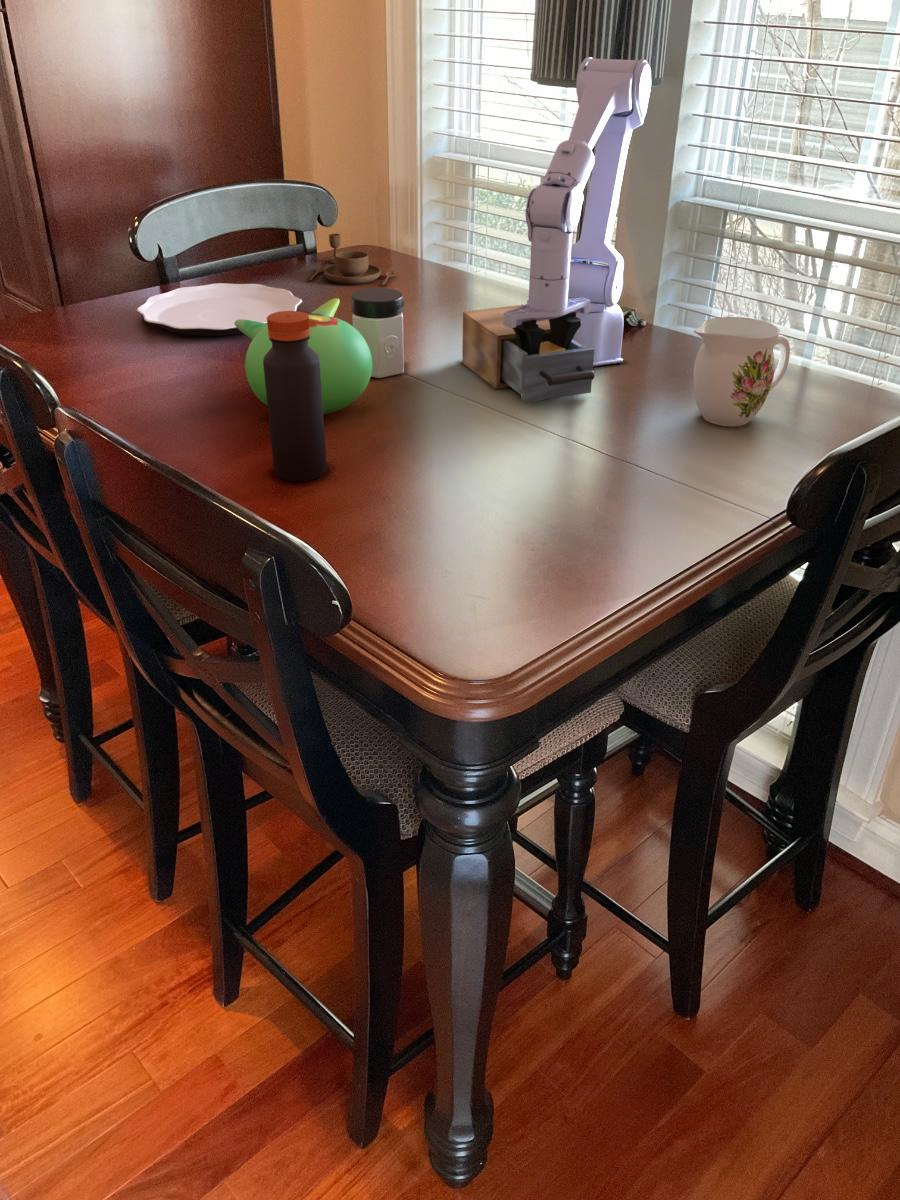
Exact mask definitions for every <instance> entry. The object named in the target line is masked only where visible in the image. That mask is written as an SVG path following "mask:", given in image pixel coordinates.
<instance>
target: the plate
mask: <svg viewBox="0 0 900 1200" xmlns="http://www.w3.org/2000/svg"><path fill="white" fill-rule="evenodd" d="M302 303H303V299H301V298H299V297H298V296H295V295H293V293H292V291H290V290H289V289H286V288H279V287H274V286H273V287H272V286H267V285H264V284H260V283H225V282H224V283H223V282H220V283H219V282H217V283H210V284H204V285H197V286H184V287H183V286H182V287H179V288H178V287H177V288H175V289H173V290H169V291H168V292H164V293H160V294H155V295H152V296H150V297H148V298H147V299H146V301H145V303H143V304H142V305H140V306H139V307H137V308H136V312H137V313H138V314H139V315H141V316H142V317H143V320H144V322H146V323H148V324H150V325H154V326H156V327H160V328H162V329H163V330H167V331H169V332H172V333H175V334H181V335H187V336H198V337H199V336H200V337H219V336H220V337H222V336H223V337H225V336H235V335H242V334H244V333H243V332H241V331H240V330H239V329H238V328H237V327H236V326H235V324H234V323H235V321H236V320H239V319H245V320H251V321H256V322H261V323H265V324H267V317H268V316H269V315H270V314H273V313H276V312H281V311H298V307H299V306H301V304H302Z"/></svg>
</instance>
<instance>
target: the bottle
mask: <svg viewBox="0 0 900 1200" xmlns="http://www.w3.org/2000/svg"><path fill="white" fill-rule="evenodd" d="M307 314H308V313H306V312H304V311H299V310H296V311H281V312H276V313H273V314H270V315H269V316H268V317H267V325H268V335H269V340H270V341H271V342H272V348H271V349H270V350H269V351H268V353H267V354H266V355H265V356H264V360H263V366H264V376H265V386H266V396H267V405H266V406H267V415H268V424H269V434H270V444H271V454H272V463H273V464H272V465H273V472H274V474H275V476H276V477H278V478H279V479H281V480H284V481H287V482H293V483H300V482H301V483H302V482H309V481H313V480H316V479H319V478H321V477H322V476H323V475H324V474H325V473H326V472H327V470H328V464H327V463H328V461H327V448H326V446H327V445H326V434H325V419H324V417H325V416H324V415H323V402H322V388H321V373H320V358H319V355H318V354H317V353H316V352H315V351H314V350H313V349H312V348H311V347H310V346H308V340H309V339H310V336H309V335H310V326H309V316H308V315H307Z"/></svg>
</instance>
